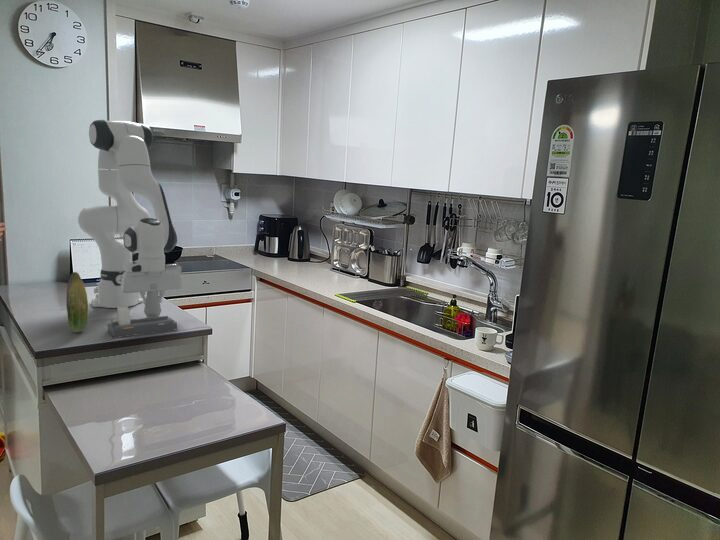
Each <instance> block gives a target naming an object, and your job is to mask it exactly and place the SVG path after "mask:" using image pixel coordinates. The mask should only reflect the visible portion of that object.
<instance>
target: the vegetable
mask: <svg viewBox="0 0 720 540" xmlns="http://www.w3.org/2000/svg"><path fill="white" fill-rule="evenodd" d="M85 285H86V284H85V283H84V281H83V279H82V278H81V276H80V274H79V272H76V271H73V272H72V273H71V274H70V277H69V279H68V282H67V285H66V305H65V306H66V313H67V323H68V324H67V325H68V328H69V330H70V331H71V332H73V333H77V334H78V333H81V332H83V330H85V328H86V326H87V323H88V319H89V318H88V315H89V301H88V294H87V291H86V286H85Z"/></svg>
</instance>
